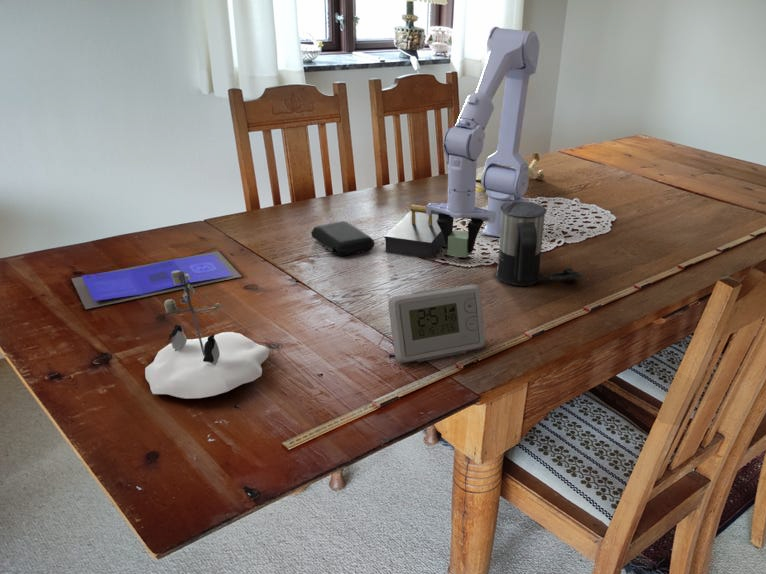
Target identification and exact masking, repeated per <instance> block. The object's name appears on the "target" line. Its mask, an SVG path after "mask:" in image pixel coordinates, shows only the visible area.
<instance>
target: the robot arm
mask: <svg viewBox="0 0 766 574" xmlns="http://www.w3.org/2000/svg"><path fill="white" fill-rule="evenodd" d="M539 55H540V40H539V37H538V34H537V32H536V31H535V30H522V29H513V28H504V27H499V26H493V27H492V28H491V29H490V30H489V32H488V34H487V36H486V40H485V57H486V61H485V64H484V67H483V70H482V73H481V76H480V79H479V82H478V85H477V88H476V91H475V92H473V93H470V94H469V95H468V96H467V98H466V99H465V103H464V104H463V107H462V109H461V111H460V113H459V116H458V118H457V120H456V123H455V125H454V126H451V127H450V128H448V129H447V130H446V132H445V134H444V137H443V142H442V149H443V153H444V155H445V163H446V165H448V168H447V203H433V202H429V203H428V204H427V205H426V207H427V213H426V214H427V215H432V214H433V215H438V219H437V224H438V226H439V227H440V229H441V231H442V234H443V237H444V240H445V243H444V245H445V248H446V251H448V236H449V235H450V234H451V233H452V230H454V219H465V220H470V221H469V222H468V223H467V229H468V230H467V232H468V237H469V240H468V253H469V254H472V253H473V251H474V248H475V244H476V239H477V237H478V235H479V232H480V231H481V228H482V226H483V224H484V222H486V226H485V227H484V229H483V230H482V231H481V235H483V236H489V237H498V238H500V227H501V212H502V211H501V209H500V207H501V206H502V205H503V204H505V203H508V202H529V198H528V197H524V195H525V194H526V192H527V189H528V187H529V183H530V182H529V181H530V179H529V177H528V168H529V167H528V166H529V165H530V164H529V163H528V162H527V160H526V159H525V158H524V157H523V156H522V155H521V154H520V146H521V140H522V139H521V138H522V131H523V124H524V117H525V110H526V103H527V96H528V89H529V81H530V76H532V75H534V74H536V72H537V67H538V61H539ZM504 78H505V84H504V91H503V99H502V108H501V115H500V124H499V131H498V139H497V146H496V151H495V152H494V153H492V154H490V155H489V156H487V158H485V163H484V167H483V170H482V171H481V172H482V176H481V184H482V187H483V189H484V191H485V195H486V196H487V209H485V208H481V207H478V206H476V191H477V188H476V186H477V185H476V178H477V168H478V159H479V158H480V156H481V154H482V152H483V150H484V145H485V144H484V142H485V138H486V133H485V131H486V128H487V126H488V124H489V121H490V120H491V117H492V114H493V112H494V110H495V109H494V108H495V107H494V103H493V99H494V97H495V95H496V93H497V91H498V90H499V88H500V86H501V85H502V84H501V83H502V82H503V80H504ZM510 167H513V168H510Z"/></svg>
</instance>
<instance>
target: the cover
mask: <svg viewBox="0 0 766 574" xmlns="http://www.w3.org/2000/svg"><path fill="white" fill-rule="evenodd" d="M437 219H438V215H436V214H432V215H427V206H425V205H418V204H410V211H409V212H408V213H407V214H406V215H404V217H402V218H401V219H400V220H399V221H398V222H397V224H395V225H394V226H393V227H392V228H391V229H390V230H389V231H388V232H387V233H385V235H384V236H383V239H385V238H386V239H393V240H400V241H407V242H414V243H421V244H428V245H431V244H432V243H433V242H434V241H435V240H436V239H437V237H438V236H439V235H440V234H441V233H442V231H441V229H440V227H439V226H438V224H437Z"/></svg>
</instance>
